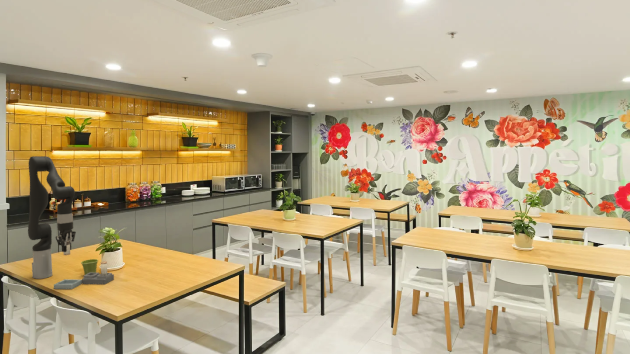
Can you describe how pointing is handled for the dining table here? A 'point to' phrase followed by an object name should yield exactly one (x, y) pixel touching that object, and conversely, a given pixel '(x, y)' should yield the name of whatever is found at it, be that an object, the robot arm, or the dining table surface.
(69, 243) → the fuse
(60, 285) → the parts tray
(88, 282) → the fuse block
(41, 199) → the robot arm
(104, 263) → the fuse
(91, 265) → the plant pot
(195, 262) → the dining table surface
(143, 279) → the dining table surface
